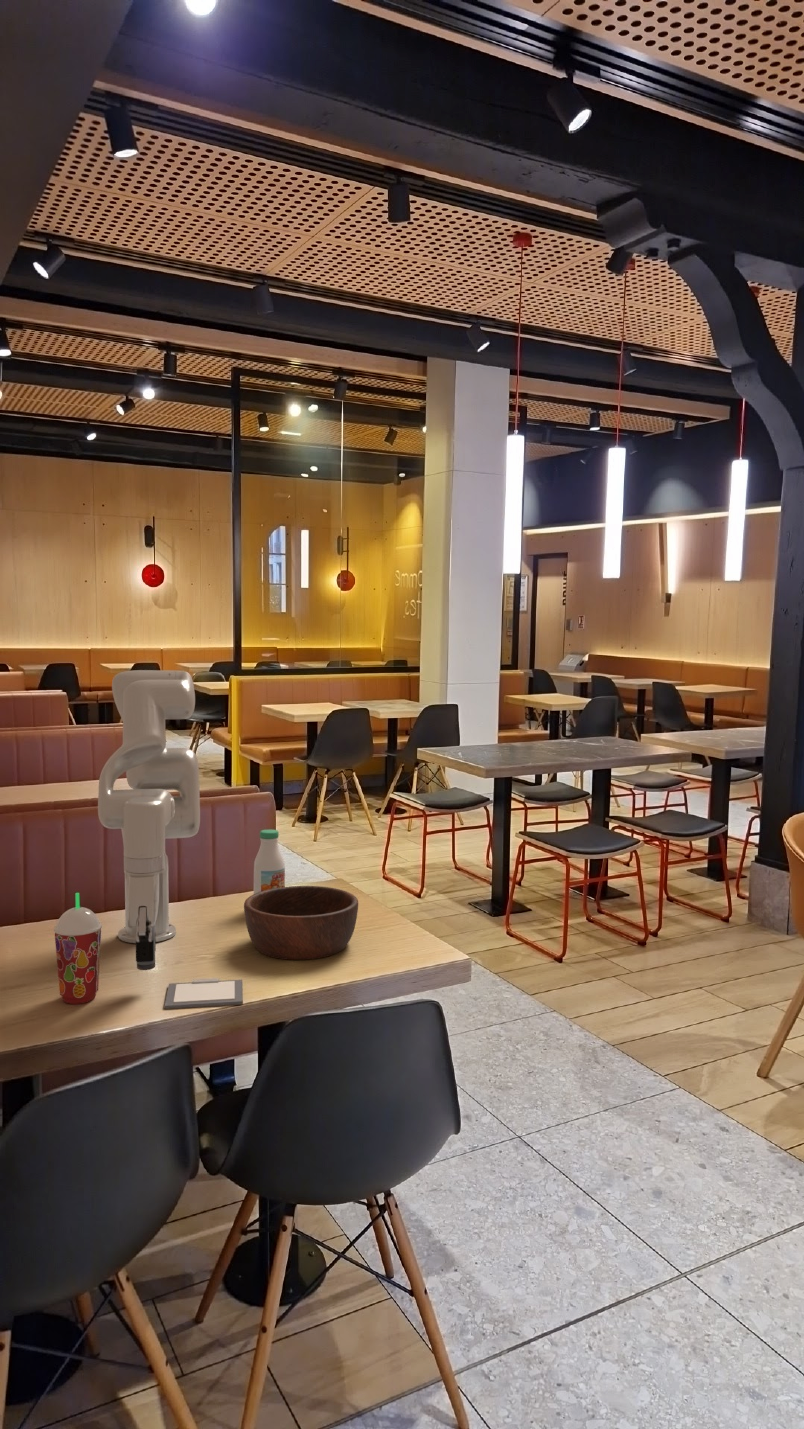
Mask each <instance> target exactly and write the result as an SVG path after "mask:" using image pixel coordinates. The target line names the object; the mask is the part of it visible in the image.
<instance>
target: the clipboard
mask: <svg viewBox="0 0 804 1429" xmlns="http://www.w3.org/2000/svg"><path fill="white" fill-rule="evenodd" d="M243 987H244V986H243V979H232V980H231V979H228V980H220V978H219V977H217V978H216V977H215V978H214V977H213V978H199V979H192V982H175V983H174V982H173V983H172V982H171V983H168V987H167V992H166V995H165V996H166V997H165V1001H164V1010H172V1009H183V1008H184V1009H186V1008H187V1009H189V1008H202V1007H203V1008H206V1007H220V1006H223V1007H224V1006H236V1005H244V1001H243V1000H244V993H243V990H244V988H243Z"/></svg>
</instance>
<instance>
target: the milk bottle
mask: <svg viewBox="0 0 804 1429" xmlns="http://www.w3.org/2000/svg"><path fill="white" fill-rule="evenodd" d="M279 836H280V833H279V831H278V830H277V829H262V830H260V832H259V838H260V839H259V840H260V845H259V849H258V852H257V854H256V856H255V858H254V862H253V894H256V893H258V892H261V891H265V890H269V889H274V888H280V887H286V871H285V870H286V868H285V867H286V866H285V859H284V856H283V854H282V851H281V849H280V847H279V843H278V841H279Z"/></svg>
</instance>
